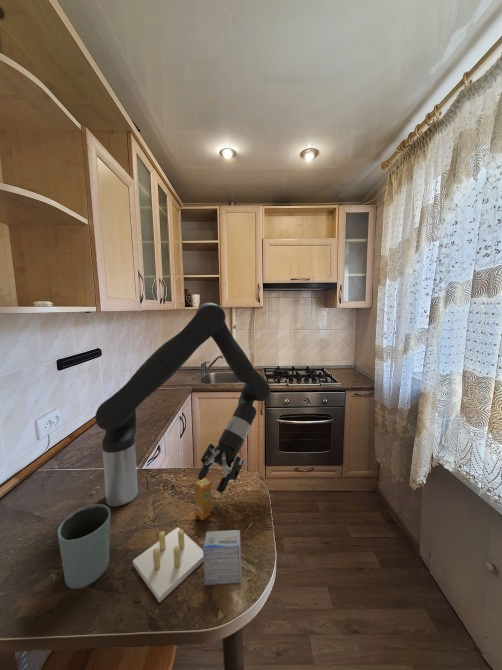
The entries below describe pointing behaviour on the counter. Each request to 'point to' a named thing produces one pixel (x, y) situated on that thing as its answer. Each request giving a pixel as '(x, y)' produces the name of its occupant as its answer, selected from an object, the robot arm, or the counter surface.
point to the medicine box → (222, 557)
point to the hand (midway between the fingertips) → (209, 485)
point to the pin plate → (168, 562)
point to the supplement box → (203, 498)
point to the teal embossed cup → (85, 545)
